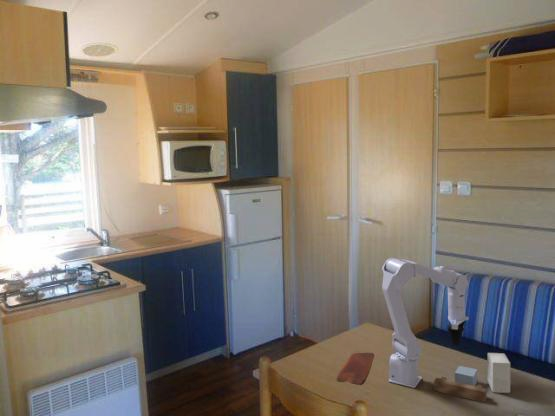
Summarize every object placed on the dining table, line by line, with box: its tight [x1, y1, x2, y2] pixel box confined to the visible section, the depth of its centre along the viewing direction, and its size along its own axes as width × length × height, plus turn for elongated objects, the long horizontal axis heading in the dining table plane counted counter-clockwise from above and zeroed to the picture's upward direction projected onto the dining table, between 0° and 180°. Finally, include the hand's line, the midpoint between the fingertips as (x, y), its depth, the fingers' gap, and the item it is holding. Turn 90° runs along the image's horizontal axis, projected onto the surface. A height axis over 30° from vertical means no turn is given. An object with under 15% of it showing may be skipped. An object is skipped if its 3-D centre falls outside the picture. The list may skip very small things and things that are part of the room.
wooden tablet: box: [336, 352, 375, 385], centre depth 186 cm, size 27×10×2 cm, turn 158°
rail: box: [433, 376, 487, 403], centre depth 163 cm, size 16×4×4 cm, turn 56°
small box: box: [486, 352, 511, 394], centre depth 165 cm, size 8×6×10 cm
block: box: [454, 365, 478, 386], centre depth 169 cm, size 6×6×4 cm
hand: (457, 340), depth 179 cm, fingers open, 7 cm apart
